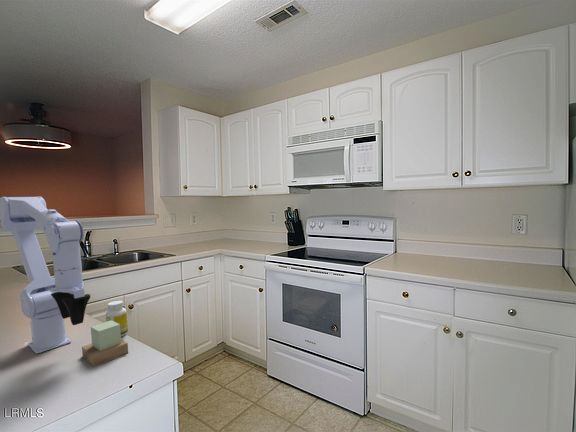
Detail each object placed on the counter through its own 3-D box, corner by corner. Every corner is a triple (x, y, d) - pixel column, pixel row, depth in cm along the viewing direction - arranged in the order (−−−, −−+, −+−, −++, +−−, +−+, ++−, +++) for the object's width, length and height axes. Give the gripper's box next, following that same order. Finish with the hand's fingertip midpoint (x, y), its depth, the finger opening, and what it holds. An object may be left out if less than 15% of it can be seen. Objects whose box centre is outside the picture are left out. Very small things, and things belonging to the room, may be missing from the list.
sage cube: (92, 345, 79) (90, 326, 79) (112, 338, 83) (111, 320, 83) (100, 351, 76) (98, 331, 76) (121, 342, 80) (119, 324, 80)
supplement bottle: (131, 330, 94) (129, 299, 93) (122, 338, 88) (120, 305, 88) (113, 331, 94) (111, 300, 93) (103, 339, 88) (100, 306, 88)
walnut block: (82, 358, 79) (81, 346, 79) (115, 345, 85) (115, 335, 85) (93, 368, 74) (92, 355, 73) (128, 354, 80) (127, 343, 80)
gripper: (40, 268, 79) (45, 319, 80) (57, 275, 70) (62, 332, 71) (72, 263, 85) (76, 311, 86) (92, 269, 76) (96, 322, 76)
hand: (72, 320), depth 79 cm, fingers open, 7 cm apart
